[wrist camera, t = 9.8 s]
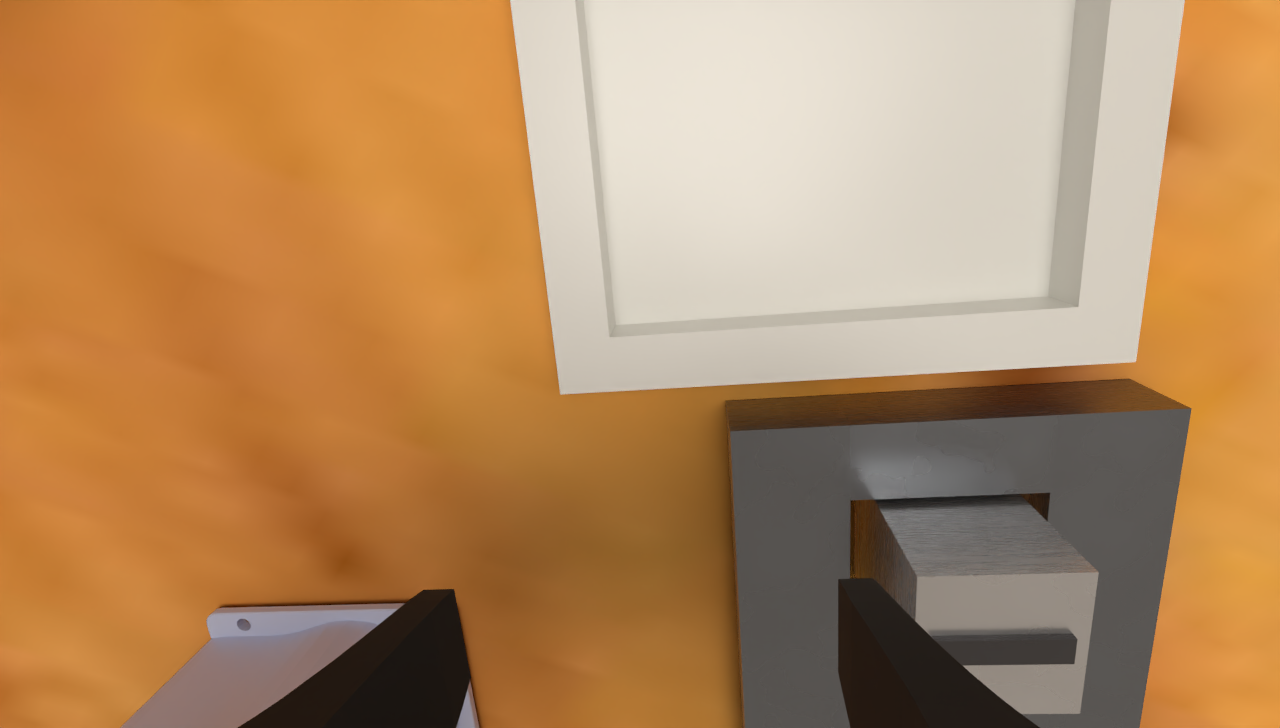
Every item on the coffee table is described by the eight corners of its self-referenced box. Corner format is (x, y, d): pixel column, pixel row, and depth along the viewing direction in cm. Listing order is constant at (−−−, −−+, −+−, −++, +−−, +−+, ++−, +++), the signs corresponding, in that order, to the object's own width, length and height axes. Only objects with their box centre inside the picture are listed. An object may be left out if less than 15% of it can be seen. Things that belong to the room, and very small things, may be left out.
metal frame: (749, 866, 26) (755, 937, 24) (725, 400, 21) (730, 431, 18) (1064, 871, 25) (1103, 946, 23) (1129, 379, 19) (1191, 408, 17)
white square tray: (572, 373, 21) (560, 394, 19) (501, -217, 16) (476, -269, 14) (1092, 342, 19) (1135, 362, 17) (1167, -318, 15) (1236, -391, 13)
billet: (854, 572, 22) (914, 720, 16) (855, 465, 21) (919, 582, 15) (977, 569, 22) (1084, 720, 16) (984, 460, 21) (1104, 577, 15)
